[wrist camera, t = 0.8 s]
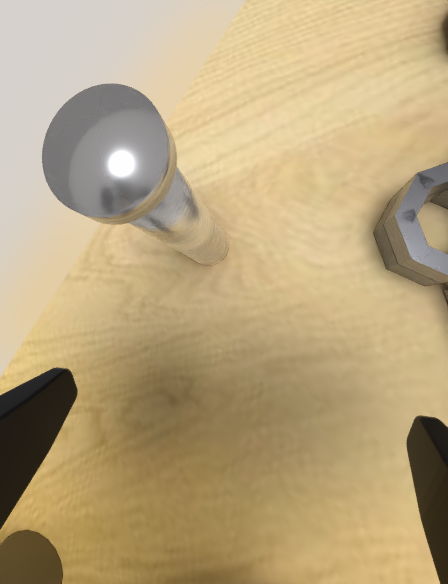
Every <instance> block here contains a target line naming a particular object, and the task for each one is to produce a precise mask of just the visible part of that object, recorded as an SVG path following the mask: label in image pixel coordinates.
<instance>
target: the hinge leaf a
mask: <svg viewBox="0 0 448 584" xmlns="http://www.w3.org/2000/svg"><path fill="white" fill-rule="evenodd" d="M402 189H403V188H402ZM402 189H401V190H400V191H399V192H398V193H397V194H396V195H395V196H394V197H393V198H392V199H391V201H390V202H389V204H388V206H387V208H386V210H385V212H384V214H383V216H382V217H381V219H380V221H379V223H378V225H377V227H376V229H375V231H374V232H373V233H374V236H375V239H376V242H377V244H378V247H379V250H380V253H381V255H382V258H383V261H384V263H385V266H386V269H388V270H390V271H393V272H395V273H397V274H399V275H401V276H404V277H406V278H408V279H410V280H412V281H415V282H417V283H419V284H421V285H423V286H429V285H435V284H440V283H439V282H437V281H435V280H432V279H430V278H428V277H426V276H424V275H421V274H419V273H417V272H415V271H413V270H410V269H408V268H406V267H404V266H401V265H399V264H398V262H397V259H396V257H395V254H394V251H393V249H392V246H391V243H390V241H389V238H388V235H387V233H386V230H385V227H384V223H385V221H386V219H387V217H388V215H389V213H390V211H391V210H392V208H393V206H394V204H395V202H396V200H397V198H398V196H399V195H400V193H401V191H402ZM427 202H433V203H435V204H438V205H440V206H443V207H445V208H448V189H446V190H443V191H440V192H437V193H434V194H431V195H428V196H427V197H426V199H425V201H424V203H427ZM424 203H423V204H424Z"/></svg>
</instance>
